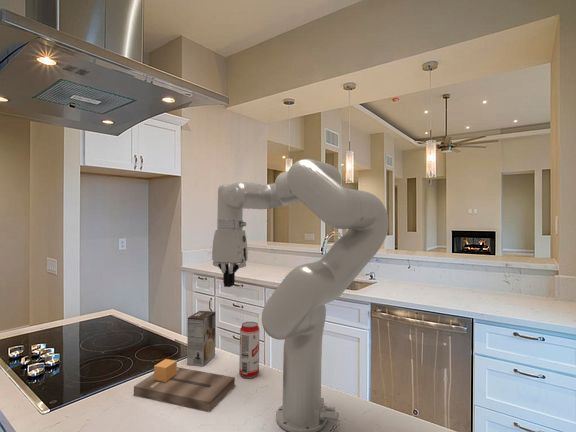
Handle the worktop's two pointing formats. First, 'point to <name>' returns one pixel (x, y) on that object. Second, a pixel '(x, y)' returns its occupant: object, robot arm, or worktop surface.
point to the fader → (165, 370)
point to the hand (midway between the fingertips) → (228, 286)
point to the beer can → (249, 349)
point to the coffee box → (201, 338)
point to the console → (187, 389)
